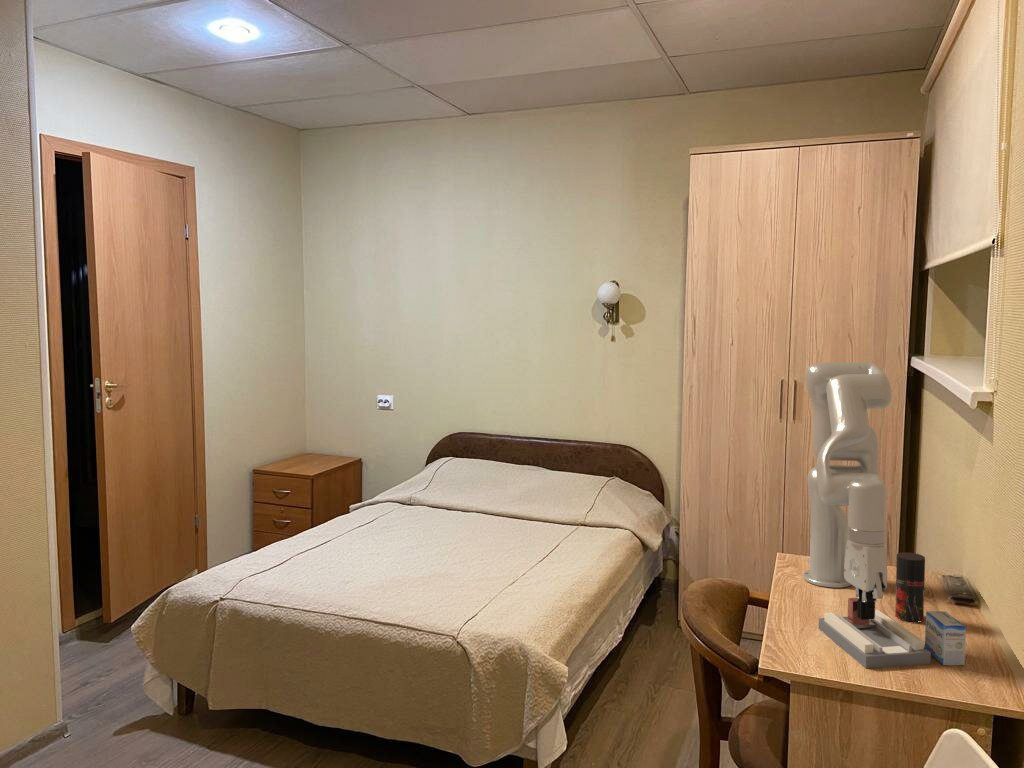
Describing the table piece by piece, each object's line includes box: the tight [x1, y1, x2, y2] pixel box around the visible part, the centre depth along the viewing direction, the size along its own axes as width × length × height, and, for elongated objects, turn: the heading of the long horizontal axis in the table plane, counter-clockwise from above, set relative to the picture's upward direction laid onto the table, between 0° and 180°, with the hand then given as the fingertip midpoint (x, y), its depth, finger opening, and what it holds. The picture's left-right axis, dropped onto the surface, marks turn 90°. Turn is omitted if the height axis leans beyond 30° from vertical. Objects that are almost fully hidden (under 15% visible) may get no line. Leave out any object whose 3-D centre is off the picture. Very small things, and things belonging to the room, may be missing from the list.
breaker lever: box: [842, 597, 875, 628], centre depth 173 cm, size 5×5×6 cm
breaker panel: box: [818, 609, 932, 669], centre depth 168 cm, size 20×14×4 cm
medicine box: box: [924, 610, 967, 666], centre depth 162 cm, size 8×4×9 cm, turn 178°
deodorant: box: [894, 551, 926, 623], centre depth 182 cm, size 6×6×15 cm
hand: (866, 617), depth 170 cm, fingers closed
